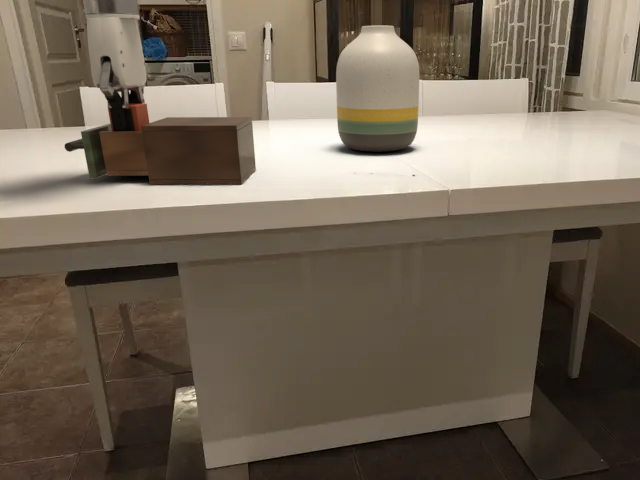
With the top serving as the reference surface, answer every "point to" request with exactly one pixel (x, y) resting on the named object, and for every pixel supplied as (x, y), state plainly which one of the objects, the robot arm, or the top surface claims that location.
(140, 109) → the block
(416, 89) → the vase
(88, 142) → the drawer
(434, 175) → the top surface
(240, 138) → the cabinet
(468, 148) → the top surface
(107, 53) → the robot arm
